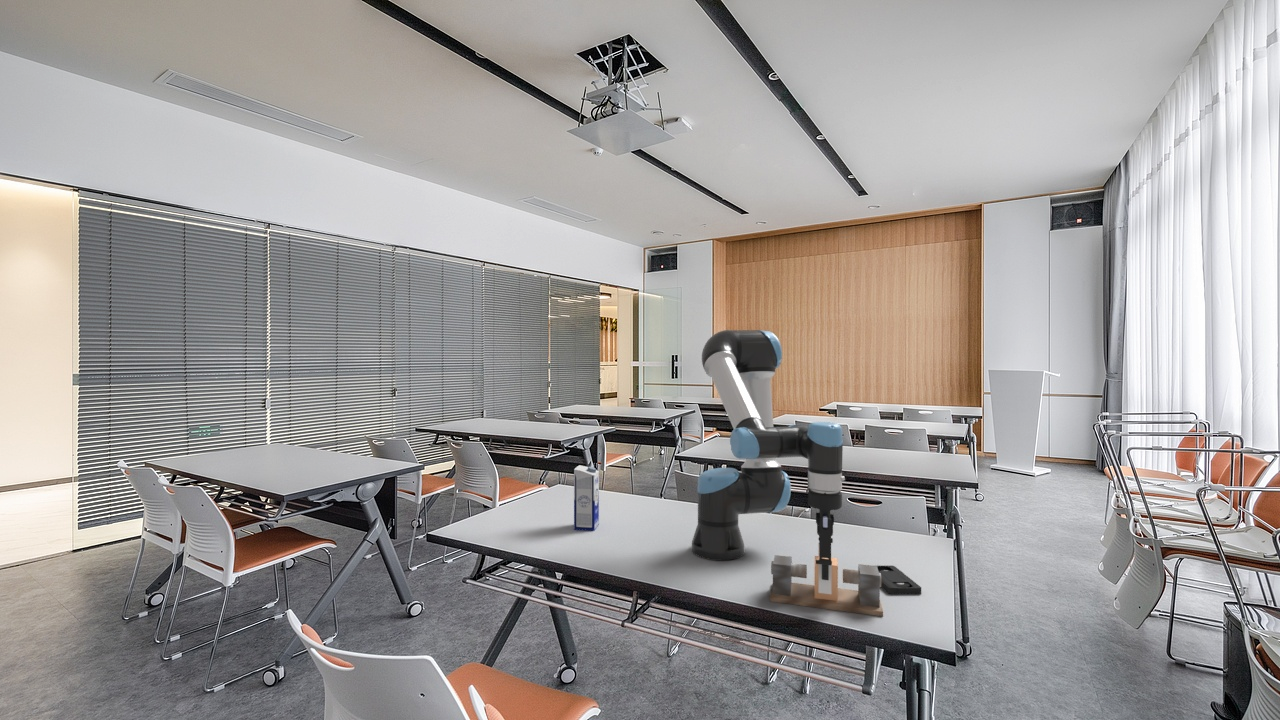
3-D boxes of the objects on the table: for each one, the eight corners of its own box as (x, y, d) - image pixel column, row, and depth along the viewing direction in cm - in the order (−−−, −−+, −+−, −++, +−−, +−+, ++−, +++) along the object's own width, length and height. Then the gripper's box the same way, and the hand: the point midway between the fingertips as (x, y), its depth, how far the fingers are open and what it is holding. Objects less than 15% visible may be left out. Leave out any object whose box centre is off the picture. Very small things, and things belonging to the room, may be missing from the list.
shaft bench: (769, 601, 128) (769, 566, 128) (773, 584, 137) (773, 552, 137) (883, 616, 120) (883, 579, 120) (878, 597, 130) (878, 563, 130)
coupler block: (837, 601, 126) (837, 565, 126) (814, 598, 127) (814, 563, 127) (836, 592, 130) (837, 558, 130) (814, 589, 132) (814, 555, 132)
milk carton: (579, 523, 187) (579, 464, 187) (598, 524, 186) (598, 464, 186) (573, 530, 180) (573, 468, 180) (594, 531, 179) (594, 469, 179)
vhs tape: (922, 596, 132) (922, 587, 132) (889, 596, 132) (889, 588, 132) (893, 572, 146) (893, 565, 146) (863, 573, 146) (863, 565, 146)
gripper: (844, 504, 116) (844, 606, 116) (840, 479, 139) (839, 563, 140) (807, 501, 118) (806, 601, 118) (808, 477, 142) (808, 560, 142)
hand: (824, 581), depth 129 cm, fingers open, 13 cm apart
